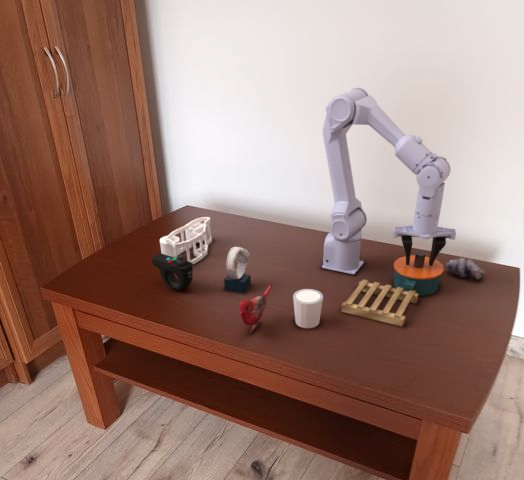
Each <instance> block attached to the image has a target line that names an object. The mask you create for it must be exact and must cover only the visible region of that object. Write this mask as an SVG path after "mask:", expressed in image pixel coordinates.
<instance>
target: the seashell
mask: <svg viewBox="0 0 524 480" xmlns="http://www.w3.org/2000/svg"><path fill="white" fill-rule="evenodd" d="M445 266H446V268H447V269H448V270H449V271H451V273H452V274H453V275H454V276H458V277H459V278H460V279H463V278H467V277H468V276H469V275H470V274H472V276H473V277H475V279H476V280H480V279H482V277H483V276H484V275H485V271H484V270H483V269H482V268H480V267H479V265H477V264H476V262H475V261H474V260H473V259H471V258H470V259H466V258H464V257H460V258H458V259H456V258H455V259H449V261H448V262H446V263H445Z"/></svg>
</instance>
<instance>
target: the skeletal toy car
mask: <svg viewBox="0 0 524 480" xmlns="http://www.w3.org/2000/svg"><path fill="white" fill-rule="evenodd" d="M202 222H203V223H202ZM211 223H212V221H211V217H210V216H202V217H201V216H200V217H198V218H195V219H193V220H191V221H189V222H188V223H186V224H184V226H181V227H178V228H177V229H175V230H173V231H171V232H170V233H169V234H168V235H164V236H162V237H160V239H159V246H160V252H161V253H160V254H165V255H168V256H171V257H174V258H176V256H177V255H179V254H182V253H184V252H186V258H187V259H186V261H189V262H191V263H193V265H194V264H196V263H198V262H200V261H201V260H203V259H204V258H205V257H206V256H207V255H208V251H209V245H210V244H212V243H213V238H212V230H211ZM184 232H185V233H184ZM178 234H180V237H179V236H177V235H178ZM198 243H199V248H197V244H198ZM190 249H193V251H192V252H193V256H194V257H195V258H193V259H191V254H190V252H191V251H190Z"/></svg>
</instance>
